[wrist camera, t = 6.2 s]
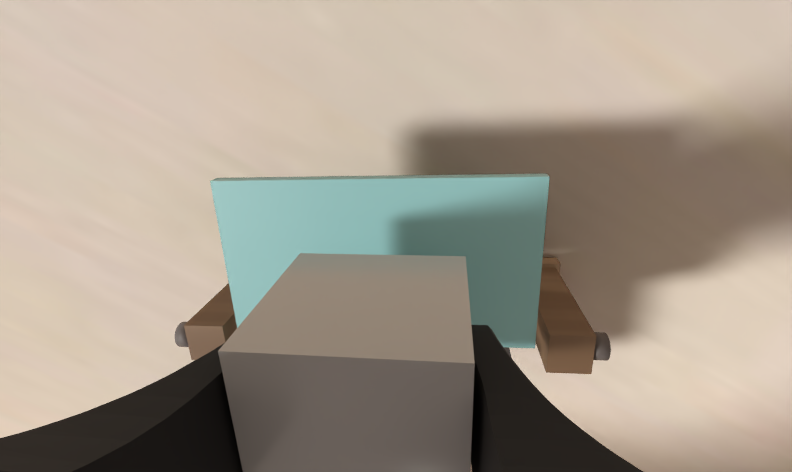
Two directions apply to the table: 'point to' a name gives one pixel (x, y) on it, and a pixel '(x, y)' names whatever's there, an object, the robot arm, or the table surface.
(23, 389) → the table surface
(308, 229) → the trapdoor
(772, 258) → the table surface
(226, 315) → the frame
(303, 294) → the light grey cube
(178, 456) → the robot arm
